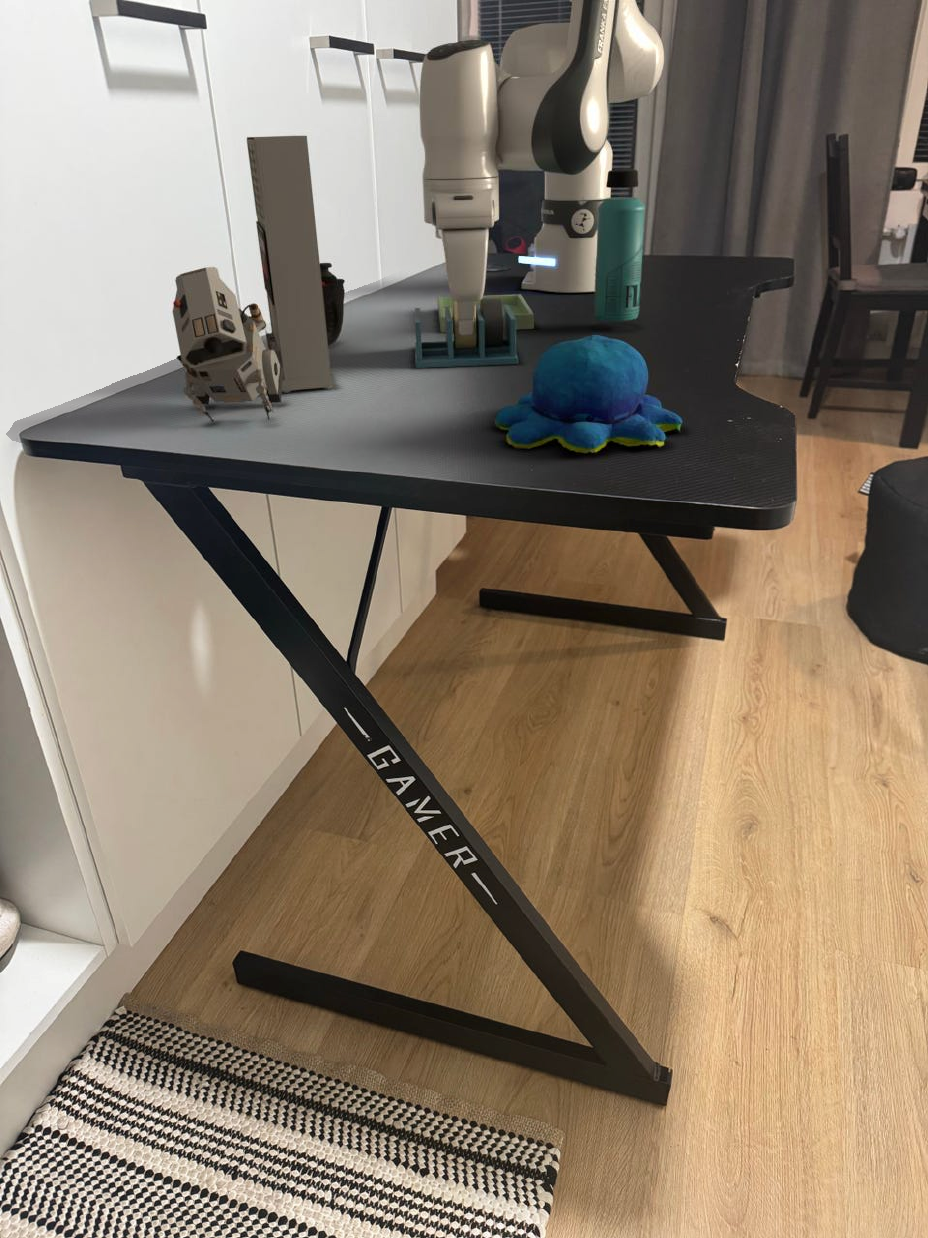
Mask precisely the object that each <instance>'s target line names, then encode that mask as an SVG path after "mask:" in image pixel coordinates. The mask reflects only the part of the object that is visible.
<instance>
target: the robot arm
mask: <svg viewBox="0 0 928 1238" xmlns="http://www.w3.org/2000/svg"><path fill="white" fill-rule="evenodd" d="M568 1H569V2H571V3H572V4H571V11H570V16H569V17H570V19H569V22H547V23H545V22H544V23H539V24H534V25H531V26H526V27H523V28H519V29H516V30H514V31H513V32H511V34H510V35H509V36H508V38H507V40H506V42H505V43H504V46H503V49H502V51H501V56H500V63H499V64H500V65H499V64H497V62H496V61H495V59H494V58H495V57H494V54H493V49H492V45H491V44H490V43H489V42H488V41H484V40H481V39H468V40H461V41H457V42H448V43H444V44H441V45H437V46H434V47H433V48H431V49H430V50H429V51H428V52H427V53H426V54H425V56H424V57H423V61H422V65H421V70H420V71H421V72H420V79H419V101H418V102H419V103H418V105H419V134H420V139H421V143H422V146H423V151H424V162H423V163H424V164H423V168H422V175H421V178H422V181H421V182H422V197H423V198H422V200H423V220H424V223H425V224H430V225H432V226H433V227H434V230H435V231H434V232H435V233H434V234H435V238H437V239H439V240H440V239H441V241H442V247H443V253H444V260H445V276H446V278H447V282H448V287H449V292H450V297H452V300H453V301H457V312H458V330H459V333H460V334H461V335H471V334H472V333H473V332H474V310H475V301H478V300H481V299H482V298H483V296H484V295H485V286H486V279H487V264H488V250H489V235H490V233H489V229H490V228H493V227H494V225H495V222H497V221H499V220H500V196H499V195H500V193H499V190H500V188H499V187H500V185H499V184H500V183H499V182H500V177H499V176H500V175H499V171H501V170H502V171H513V172H515V171H516V172H520V171H521V172H523V171H524V172H525V171H526V172H544V199H543V200H542V203H541V208H540V209H541V212H540V213H541V222H542V226H541V229H540V230H539V232H538V233H537V234H536V236H535V237H534V238H533V243H530V246H529V247H527V256H522V255H521V256H520V255H519V256H518V263H519V264H520V263H521V264H527V265H528V264H529V269H530V271H528V272H527V273H526V275H525V276H524V278H523V280H522V282H521V287H520V289H522V290H531V291H534V290H535V291H541V292H553V293H592V292H593V293H595V289H594V288H595V278H594V277H595V276H594V275H595V274H594V271H595V272H596V270H595V269H596V254H597V228H598V207H599V206H600V204H601V203H602V202H603V201H604V200H605V199H607V198H612V197H611V195H612V188H608V187H606V184H607V178H608V172H609V171H611V170H613V156H614V155H613V149H612V146H611V144H610V142H609V140H608V136H609V127H610V104H619V103H625V102H629V101H632V100H637V99H640V98H643V97H647V96H649V95H650V94H651V93H652V92H653V90H654V89H655V87H657V84H658V83H659V80H660V79H661V76H662V74H663V71H664V64H665V50H664V44H663V41H662V39H661V37H660V34H659V33H658V31H657V30H656V29H655V27H654V26H652V25H651V24H650V23H649V22H648V21H647V20H646V18H645V17H644V16H643V14H642V13H641V10H640V9H639V7H638V4H637V1H636V0H568Z"/></svg>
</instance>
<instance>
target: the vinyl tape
mask: <svg viewBox="0 0 928 1238" xmlns="http://www.w3.org/2000/svg"><path fill="white" fill-rule="evenodd" d="M480 311H481V314H482V316H483V319H484V347H502V346H503V339H504V330H503V308H502V301H501V298H488V299H481V302H480Z"/></svg>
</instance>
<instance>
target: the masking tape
mask: <svg viewBox="0 0 928 1238" xmlns="http://www.w3.org/2000/svg"><path fill="white" fill-rule="evenodd" d="M453 341H454V349H456V348H476V310H474V332H473V333H472V334H471V335H461V334H460V333H459V330H458V312H457V301H453Z"/></svg>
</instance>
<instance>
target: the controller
mask: <svg viewBox="0 0 928 1238" xmlns="http://www.w3.org/2000/svg"><path fill="white" fill-rule="evenodd" d="M332 267H333V265H332V263H331V262H320V271H321V281H322V291H323V301H324V311H325V321H326V331H327V341H328V346H331V345H333V344H334V343H335V342H336V341H337V340H338V338H339V337H340V335H341V332H342V328H343V323H344V314H345V311H344V310H345V308H344V307H345V294H346V293H345V286H344V283H345V282H346V281H345V280H346V279H344V278H338V277H337V276H336V275H335V274H333V273H332V272H331V271H330V270H329V269H331V268H332Z"/></svg>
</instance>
